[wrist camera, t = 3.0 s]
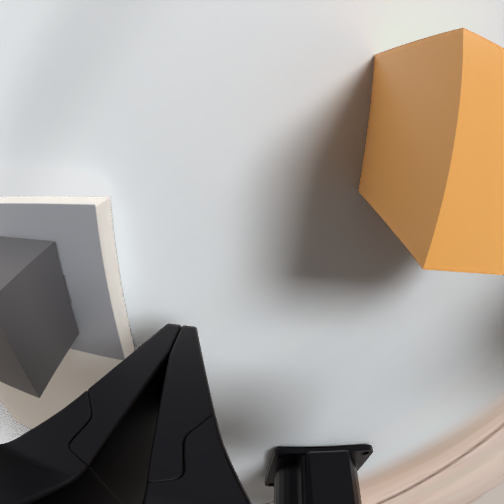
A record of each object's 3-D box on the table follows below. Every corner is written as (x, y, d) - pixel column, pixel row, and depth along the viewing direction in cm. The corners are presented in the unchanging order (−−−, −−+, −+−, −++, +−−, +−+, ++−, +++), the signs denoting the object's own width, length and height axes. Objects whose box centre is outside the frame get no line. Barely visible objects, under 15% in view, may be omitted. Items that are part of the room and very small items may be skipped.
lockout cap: (465, 208, 10) (550, 278, 5) (357, 191, 10) (422, 268, 5) (485, 91, 8) (590, 110, 3) (374, 54, 8) (463, 27, 3)
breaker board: (168, 453, 18) (163, 478, 16) (23, 409, 18) (13, 426, 17) (115, 190, 10) (85, 211, 8) (-68, 195, 10) (-93, 209, 8)
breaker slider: (79, 333, 11) (39, 398, 8) (26, 320, 11) (-16, 374, 8) (54, 241, 9) (-10, 300, 6) (-1, 236, 9) (-60, 283, 6)
